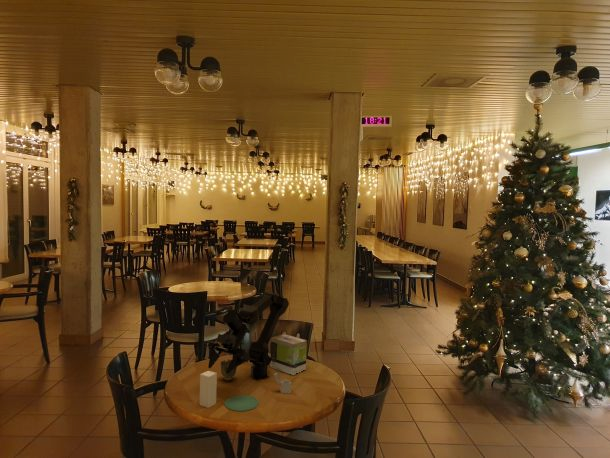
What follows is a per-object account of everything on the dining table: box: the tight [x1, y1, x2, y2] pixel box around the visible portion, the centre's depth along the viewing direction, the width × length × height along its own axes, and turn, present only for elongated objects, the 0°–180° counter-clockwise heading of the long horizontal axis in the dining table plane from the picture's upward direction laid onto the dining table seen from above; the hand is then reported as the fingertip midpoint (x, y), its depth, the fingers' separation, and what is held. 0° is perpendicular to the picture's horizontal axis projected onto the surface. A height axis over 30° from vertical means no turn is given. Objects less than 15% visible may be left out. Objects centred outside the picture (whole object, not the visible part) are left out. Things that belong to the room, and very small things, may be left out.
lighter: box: [273, 372, 292, 394], centre depth 180 cm, size 7×2×8 cm, turn 86°
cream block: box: [199, 370, 218, 408], centre depth 166 cm, size 4×4×12 cm
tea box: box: [269, 333, 308, 376], centre depth 206 cm, size 15×10×15 cm
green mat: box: [224, 394, 260, 412], centre depth 168 cm, size 13×13×1 cm
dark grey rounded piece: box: [219, 358, 238, 382], centre depth 190 cm, size 8×7×8 cm
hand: (217, 370), depth 170 cm, fingers open, 9 cm apart
